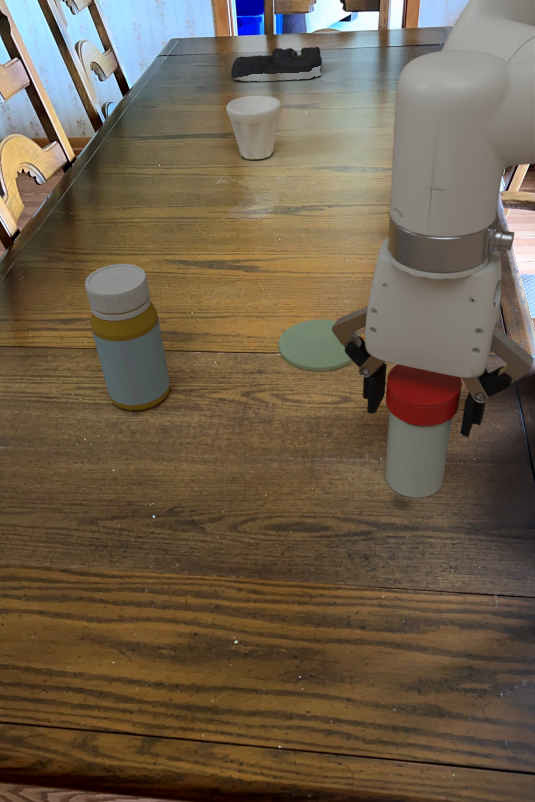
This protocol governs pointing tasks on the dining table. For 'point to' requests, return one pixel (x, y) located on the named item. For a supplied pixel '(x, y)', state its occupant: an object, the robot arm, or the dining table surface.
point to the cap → (422, 395)
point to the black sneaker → (278, 62)
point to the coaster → (313, 346)
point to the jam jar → (416, 457)
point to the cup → (254, 124)
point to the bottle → (127, 337)
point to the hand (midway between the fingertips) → (421, 414)
